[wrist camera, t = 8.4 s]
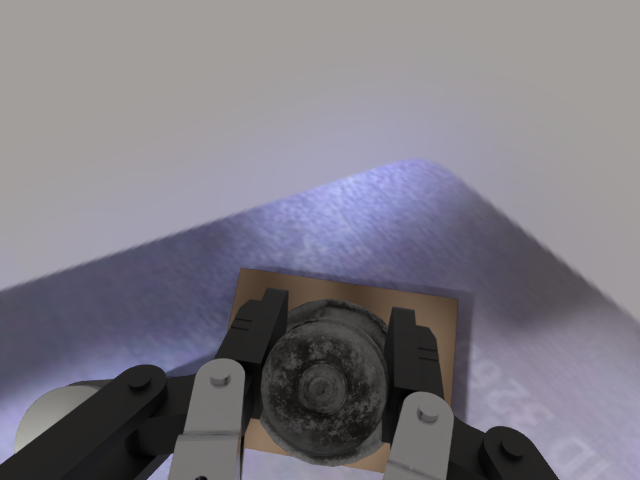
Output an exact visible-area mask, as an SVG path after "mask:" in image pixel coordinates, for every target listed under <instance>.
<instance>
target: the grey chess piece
mask: <svg viewBox="0 0 640 480" xmlns="http://www.w3.org/2000/svg"><path fill="white" fill-rule="evenodd" d="M387 330H388V326H387V325H386V323H385V322H384V321H383V320H382V319H381V318H379V317H378V316H377V315H375V314H374V313H372V312H371V311H369V310H368V309H366V308H365V307H362V306H360V305H357V304H354V303H351V302H349V301H345V300H334V299H323V300H317V301H311V302H306V303H304V304H302V305H300V306H298V307H295V308H293V309H291V310H289V311H288V316H287V329H286V334H285V335H283V336H282V337H281V338H280V340H278V342H277V343H276V344H275V346H274V347H273V349H272V350H271V352H270V353H269V354H268V357H267V360H266V362H265V365H264V368H263V371H262V379H261V395H262V402H263V407H264V408H263V411H262V414H261V417H260V420H259V421H260V423H261V425H262V426H263V428H264V429H265V430H266V432H267V433H268V435H269V436H270V437H271V439H272V440H273V441H274V442H275V443H276V444H277V445H278V446H280V447H281V448H282V449H283V450H285V451H286V452H287V453H288V454H290V455H291V456H293V457H295V458H298V459H300V460H302V461H305V462H307V463H310V464H314V465H322V466H331V467H334V466H340V465H346V464H351V463H355V462H357V461H359V460H361V459H364V458H366V457H368V456H370V455H372V454H374V453H375V452H376V451H377V450H378V449H379V448H380V447H382V446H383V445H384V444H385V443H384V442H381V441H382V418H383V416H384V414H385V411H386V408H387V402H388V394H389V384H390V378H389V373H388V368H387V364H386V361H385V359H384V357H383V354H384V345H385V340H386V335H387Z"/></svg>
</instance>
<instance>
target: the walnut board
mask: <svg viewBox="0 0 640 480" xmlns="http://www.w3.org/2000/svg"><path fill="white" fill-rule="evenodd" d="M267 287H271V288H277V289H284V290H288V291H289V299H288V311H289V310H291V309H293V308H295V307H298V306H300V305H302V304H304V303H306V302H311V301H317V300H323V299H334V300H345V301H349V302H351V303H354V304H357V305H360V306H362V307H365V308H366V309H368V310H369V311H371V312H372V313H374V314H375V315H377V316H378V317H379V318H381V319H382V320H383V321H384V322H385V323H386V325H387V326H388V325H389V320H390V315H391V310H392V307H393V306H394V307H400V308H407V309H414V310H415V318H416V325H419V326H425V327H429V328H430V330H431V331H432V333H433V334H434V336H435V337H436V340H437V347H438V354H439V363H440V369H441V376H442V383H443V390H444V398H445V402H446V403H447V404H448V405H449V406H450V408H451V397H452V383H453V368H454V354H455V339H456V325H457V310H458V299H454V298H447V297H440V296H433V295H426V294H419V293H412V292H405V291H398V290H391V289H384V288H378V287H371V286H364V285H357V284H350V283H343V282H336V281H329V280H322V279H315V278H308V277H301V276H295V275H288V274H281V273H274V272H267V271H260V270H253V269H246V268H241V269H240V274H239V278H238V283H237V288H236V293H235V298H234V302H233V307H232V312H231V317H230V322H229V326H228V330H229V328H230V326H231V324H232V322H233V320H234V319H235V316H236V314H237V312H238V310H239V308H240V307H241V306H242V305H243V304H245V303H246V302H247V301H248V300H250V299H253V300H259V301H261V300H262V298H263V295H264V293H265V291H266V289H267ZM227 332H228V331H227ZM245 448H248V449H254V450H259V451H265V452H270V453H276V454H281V455H287V456H291V455H290V454H288V453H287V452H286V451H285V450H283V449H282V448H281V447H280V446H278V445H277V444H276V443H275V442H274V441H273V440H272V439H271V437H270V436H269V435H268V433H267V432H266V430H265V429H264V428H263V426H262V425H261V423H260V421H259V420H258V419H253V418H251V419H250V422H249V425H248V428H247V430H246V433H245ZM389 455H390V443H385V444H384V445H383V446H382V447H380V448H379V449H378V450H377V451H376V452H375V453H374V454H372V455H370V456H368V457H366V458H364V459H361V460H359V461H357V462H355V463H351V464H346V465H342V466H347V467H353V468H358V469H364V470H369V471H375V472H380V473H384V472H385V469H386V465H387V461H388V458H389ZM292 457H293V456H292Z"/></svg>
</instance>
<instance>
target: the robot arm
mask: <svg viewBox="0 0 640 480" xmlns="http://www.w3.org/2000/svg"><path fill="white" fill-rule="evenodd" d="M288 299H289V291H288V290H284V289H277V288H271V287H267V289H266V291H265V293H264V295H263V298H262V300H261V301H259V300H253V299H250V300H248V301H247V302H246V303H245V304H243V305H242V306H241V307H240V308H239V310H238V312H237V314H236V316H235V319H234V320H233V322H232V324H231V326H230V328H229V330H228V332H227V334H226V336H225V338H224V340H223V342H222V344H221V346H220V348H219V350H218V352H217V354H216V356H215V358H214V360H212V361H209V362H207V363H205V364H204V365H203V366H202V367H201V368H200V369H199V370H198V372H197V373H196V374H193V375H188V376H180V377H170V378H166V374H165V373H164V371H163V370H162V369H161V368H159V367H157V366H154V365H138V366H134V367H132V368H129V369H127V370H126V371H124V372H123V373H121V374H120V375H119V376H117V377H116V378H115V379H113V380H112V381H111V382H109V383H108V384H107V385H105V386H104V387H103V388H101V389H100V390H99V391H97V392H96V393H95V394H93V395H92V396H91V397H89V398H88V399H87V400H85V401H84V402H83V403H81V404H80V405H79V406H77V407H76V408H75V409H74V410H72V411H71V412H70V413H68V414H67V415H66V416H64V417H63V418H62V419H60V420H59V421H58V422H56V423H55V424H54V425H52V426H51V427H50V428H48V429H47V430H46V431H44V432H43V433H42V434H40V435H39V436H38V437H36V438H35V439H34V440H32V441H31V442H30V443H28V444H27V445H26V446H24V447H23V448H22V449H21V450H19V451H18V452H17V453H15V454H14V455H13V456H11V457H10V458H9V459H7V460H6V461H5V462H3V463H2V464H1V465H0V480H147V479H148V478H149V477H150V476H151V475H152V474H153V473H154V471H155V470H156V469H157V468H158V467H159V466H160V465H161V464H162V463H163V462H164V461H165V460H166V459H167V458H168V457H169V456H170V454H172V453H174V454H173V458H172V463H171V467H170V471H169V476H168V480H242V475H243V462H244V448H245V433H246V430H247V428H248V425H249V422H250V419H251V418H253V419H258V420H260V417H261V414H262V411H263V408H264V407H263V402H262V395H261V379H262V371H263V368H264V365H265V362H266V360H267V357H268V354H269V353H270V352H271V350H272V349H273V347H274V346H275V344H276V343H277V342H278V340H280V338H281V337H282V336H283V335H285V334H286V329H287V316H288ZM383 357H384V359H385V361H386V364H387V368H388V373H389V378H390V384H389V394H388V402H387V408H386V411H385V414H384V416H383V418H382V441H381V442H384V443H390V455H389V458H388V461H387V465H386V469H385V472H384V476H383V480H559V479H558V477H557V476H556V475H555V473H554V472H553V470H552V469H551V467H550V466H549V465H548V463H547V462H546V460H545V459H544V458H543V456H542V455H541V453H540V452H539V451H538V449H537V448H536V446H535V445H534V444H533V443H532V441H531V440H529V439H528V438H527V437H526V436H525V435H524V434H522V433H520V432H519V431H517V430H515V429H512V428H509V427H504V426H497V427H493V428H491V429H489V430H488V431H487V432H486V433H484V432H482V431H480V430H478V429H476V428H473V427H471V426H469V425H467V424H465V423H463V422H462V421H460V420H459V419H458V418H457V417H455V416H454V415H453V412H452V410H451V408H450V406H449V405H448V404H447V403H446V402H445V398H444V390H443V383H442V376H441V369H440V363H439V354H438V347H437V340H436V337H435V336H434V334H433V333H432V331H431V330H430V328H429V327H425V326H419V325H416V318H415V310H414V309H407V308H400V307H394V306H393V307H392V310H391V315H390V320H389V325H388V330H387V335H386V340H385V345H384V354H383Z"/></svg>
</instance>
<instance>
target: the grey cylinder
mask: <svg viewBox="0 0 640 480" xmlns="http://www.w3.org/2000/svg"><path fill="white" fill-rule="evenodd" d="M166 378H170V377H169V376H166ZM112 380H113V379H109V380H93V381H81V382H76V383H73V384H70V385H68V386H65V387H61V388H57V389H54V390H52V391H50V392H47V393H46V394H44V395H43V396H41V397H40V398H39V399H37V400H36V401H35V402H34V403H33V404H32V405H31V406H30V408H29V409H28V410H27V411H26V413H25V414H24V416H23V418H22V420H21V422H20V424H19V427H18V429H17V433H16V437H15V446H14V452H15V453H17V452H18V451H19V450H21V449H22V448H23V447H24V446H26V445H27V444H28V443H30V442H31V441H32V440H34V439H35V438H36V437H38V436H39V435H40V434H42V433H43V432H44V431H46V430H47V429H48V428H50V427H51V426H52V425H54V424H55V423H56V422H58V421H59V420H60V419H62V418H63V417H64V416H66V415H67V414H68V413H70V412H71V411H72V410H74V409H75V408H76V407H77V406H79V405H80V404H81V403H83V402H84V401H85V400H87V399H88V398H89V397H91V396H92V395H93V394H95V393H96V392H97V391H99V390H100V389H101V388H103V387H104V386H105V385H107V384H108V383H109V382H111V381H112Z"/></svg>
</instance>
